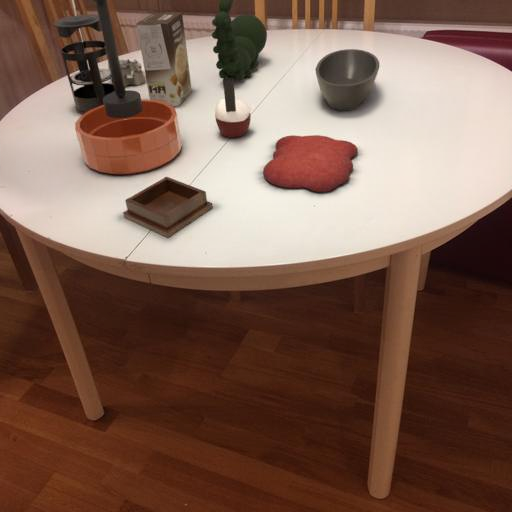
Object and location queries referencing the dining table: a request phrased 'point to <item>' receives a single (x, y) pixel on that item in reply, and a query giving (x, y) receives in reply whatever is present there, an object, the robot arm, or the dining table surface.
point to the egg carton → (131, 72)
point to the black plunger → (116, 73)
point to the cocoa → (232, 112)
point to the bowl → (346, 77)
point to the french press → (85, 62)
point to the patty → (310, 162)
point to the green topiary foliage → (237, 42)
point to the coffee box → (165, 57)
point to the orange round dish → (129, 138)
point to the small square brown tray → (167, 206)
